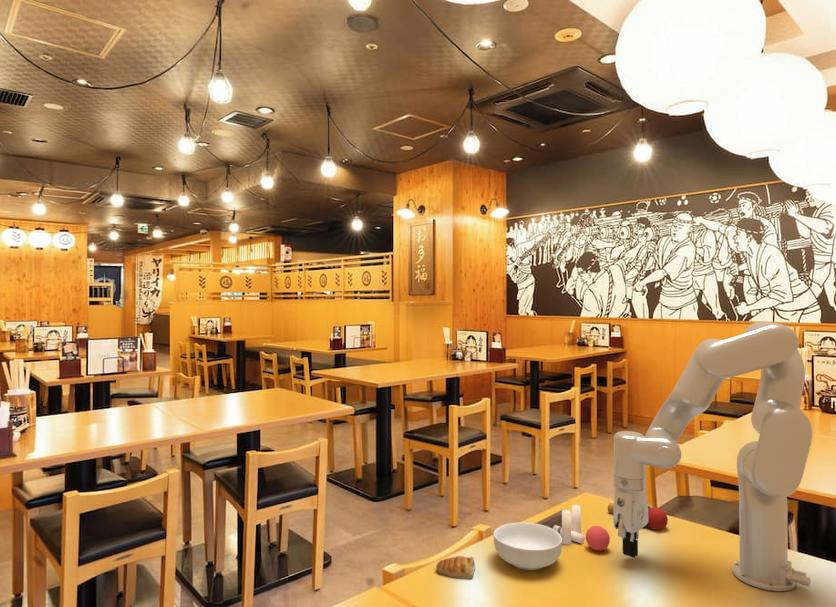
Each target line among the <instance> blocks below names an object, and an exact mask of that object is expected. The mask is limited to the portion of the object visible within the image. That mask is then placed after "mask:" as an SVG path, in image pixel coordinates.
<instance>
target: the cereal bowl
mask: <svg viewBox="0 0 836 607" xmlns="http://www.w3.org/2000/svg"><path fill="white" fill-rule="evenodd" d="M535 523H536V522H535ZM535 523H534V522H525V521H524V522H523V521H521V522H512V523H511V522H509V523H505V524H502V525H500V526H498V527H497V528H495V529H494V531H493V545H494V549H495V551H496V552H497V554H498V556H499V557H500V558H501V559H503V560H504V562H506V563H508V564H510V565H513V567H516V568H517V569H520V570H524V571H536V570H537V571H538V570H539V569H542V568H545V567H549V566H551V565H552V564H554V563H556V561H557V560H558V559H559V558H560V556H561V553H562V549H563V543H562V537H561V535H560V534H559V533H558V532H557V531H556V530H554V529H552V528H550V527H547V526H544V525H540V524H535Z"/></svg>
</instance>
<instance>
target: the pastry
mask: <svg viewBox="0 0 836 607" xmlns="http://www.w3.org/2000/svg"><path fill="white" fill-rule="evenodd" d="M435 567H436V571H437V573H439V574H440V575H443V576H444V575H445V576H447V577H449V578H456V579H457V578H458V579H464V580H465V579H467V580H470V579H473V578H474V576H475V570H476V564H475V559H474V557H473V556H470V557H468V556H463V555H462V556H461V555H456V556H455V557H454V556H453V557H450V558H449V557H447V558H444V559H441V560H439V561H438V562H437V564H436V566H435Z"/></svg>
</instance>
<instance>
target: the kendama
mask: <svg viewBox="0 0 836 607" xmlns="http://www.w3.org/2000/svg"><path fill="white" fill-rule="evenodd" d="M607 512H608V513H609V514H614V503H612V502H610V503H608V505H607ZM668 522H669V520H668V515H667V513H666V512H665V511H664V510H663V509H661V508H659V507H656V506H654V507H653V506H652V505H651V504H649V503H648V524H647V526H648V527H649V528H651V529H653V530H656V531H660V530H664V529H665V528H666V527H667V526H668Z"/></svg>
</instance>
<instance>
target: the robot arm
mask: <svg viewBox="0 0 836 607" xmlns="http://www.w3.org/2000/svg"><path fill="white" fill-rule="evenodd" d="M758 370H760V378H759V383H758V384H759V385H758V388H757V393H756V397H755V401H754V405H753V408H752V411H751V416H750V422H751V425H752V427H753V429H754V430H755V431H756V432H757V433H758V434H759V436H758V440H756V441H750V442H748V443H745V444H744V445H743V446H742V447H741V448H740V450H739V451H738V454H737V457H736V470H737V471H736V472H737V482H738V494H739V495H738V498H739V502H738V503H739V504H738V505H739V507H738V508H739V510H738V512H739V513H738V515H739V518H738V519H739V520H738V521H739V528H738V529H739V534H738V535H739V560H738V561H736V562H734V563H733V564H732V565H731V567H732V568H731V570H732V571H731V572H732V573H733V576H735V577H736V578H737V579H738V580H740V581H741V582H743V583H745V584H747V585H749V586H752V587H754V588H758V589H761V590H766V591H772V592H787V591H791V590H793V589H794V588H796V586H797V583H798V584H799V585H802V586H806V587H808V588H809V587H810V586H811V577H809V576H807V572H804V571H801V570H796V569H795V568H793V567H792V561H790V560H788V558H789V557H788V556H789V555H788V554H789V552H788V551H789V550H788V545H789V544H788V516H789V515H788V498H787V497H789V496H790V495H792V494H794V493H795V492H796V491H797V490H798V489H799V487H800V485H801V482H802V480H803V477H804V474H805V473H804V472H805V468H806V465H807V461H808V458H809V453H810V449H811V445H812V440H813V426H812V424H811V421H810V420H811V419H810V418H809V417H808V415H807V414H806V413H804V411H802V410H801V409H800V408H801V402H802V399H803V393H804V388H805V380H806V368H805V363H804V361H803V357H802V355H801V353H800V352H799V337H798V336H797V333H796V332H795V331H794V330H793V329H792V328H790V327H789V326H787V325H786V324H782V323H777V322H771V321H757V322H754V323H752V324H750V325H748V327H746V329H745V330H744V332H743V333H741V334H738V335H735V336H733V337H728V338H726V339H719V338H709V339H708V338H707V339H705V340H703V341H701V342H700V343H699V344H698V345H697V347H696V348H695V350H694V352H692V354H691V357H690V359H689V361H688V362H687V364H686V366H685V368H684V370H683V372H681V373H682V374H681V375H680V377H679V379H678V380H677V382H676V384H675V385H674V388H673V389H672V390H671V392H670V394H669V395H668V396H667V398H666V400H665V401H664V402H663V404H662V405H661V407H660V408H659V410H658V411H657V413H656V414H655V416H654V418H653V420H652V422H651V424H650V425H649V427H648V429H647V430H646V433H645V435H643V434H642V433H640V432H637V431H631V430H621V431H617V432H616V433H614V435H613V488H614V489H615V491H614V496H613V497H614V498H613V504H614V514H613V517H612V518H613V526H614V528H615V529H616V530H617V537H619V538H621V539H622V554H623V555H624V556H628V557H631V558H636V557H638V555H639V549H638V548H639V545H638V544H639V540H638V539H639V533H640V530H641V529H643V528H644V527H646V526H648V504H649V502H648V494H647V476H646V475H647V472H646V471H647V470H646V469H647V468H646V467H647V466H651V467H656V468H660V469H661V468H662V469H671V468H674V467H676V466H677V465H678V464H679V463H680V462H681V460H682V450H681V447H680V445H679V444H678V442H679V440H680V438H681V436H682V434H683V433H684V431H685V429H686V427H687V426H688V425H689V424H690V422H691V421H692V420H693V419H695V418H696V417H697V416H699V415H700V414H702V413H704V412H706V411H707V409H709V407H710V406H711V404H712V402H713V401H714V399H715V396H716V395H717V393H718V391H719V390H720V388H721V386H722V384H723V382H724V380H726V379H730V378H734V377H737V376H741V375H745V374H746V375H747V374H748V373H752V372H755V371H758Z"/></svg>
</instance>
